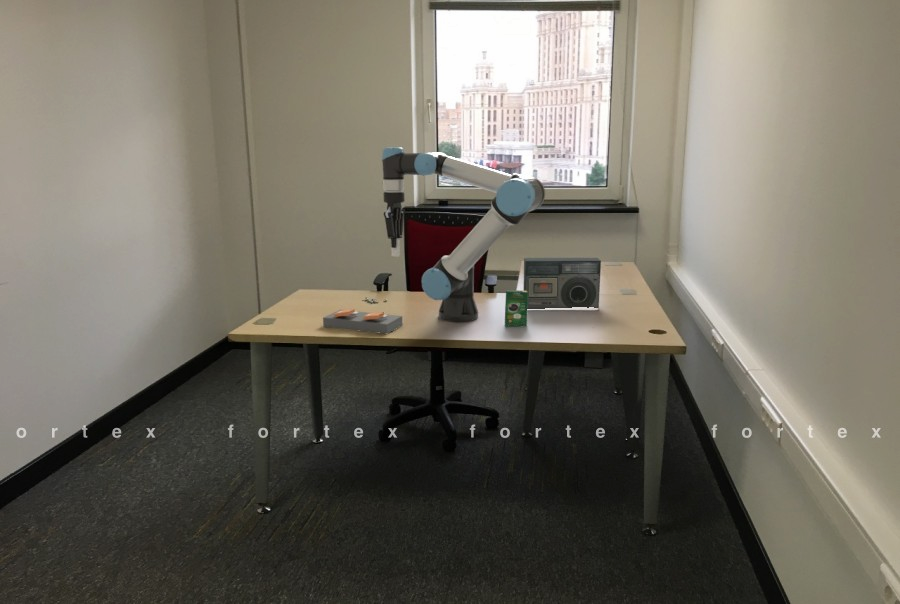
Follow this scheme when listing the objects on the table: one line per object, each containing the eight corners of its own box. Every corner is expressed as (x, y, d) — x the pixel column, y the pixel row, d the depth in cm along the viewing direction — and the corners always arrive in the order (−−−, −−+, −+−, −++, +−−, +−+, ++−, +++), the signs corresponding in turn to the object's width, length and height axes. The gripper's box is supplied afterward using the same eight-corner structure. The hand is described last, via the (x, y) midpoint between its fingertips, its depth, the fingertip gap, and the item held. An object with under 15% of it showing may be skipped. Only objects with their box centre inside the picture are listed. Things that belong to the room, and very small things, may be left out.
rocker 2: (384, 315, 239) (383, 311, 239) (378, 318, 235) (378, 314, 235) (369, 316, 242) (369, 313, 242) (364, 319, 238) (363, 316, 238)
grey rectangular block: (402, 325, 245) (402, 315, 244) (387, 334, 234) (387, 323, 233) (340, 318, 254) (340, 308, 253) (323, 326, 243) (322, 316, 243)
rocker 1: (355, 312, 244) (354, 308, 244) (348, 315, 240) (348, 311, 240) (341, 314, 246) (340, 310, 246) (334, 317, 242) (334, 313, 242)
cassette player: (524, 310, 265) (525, 260, 260) (523, 306, 271) (524, 257, 267) (598, 310, 264) (600, 260, 259) (595, 306, 270) (597, 257, 266)
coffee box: (526, 324, 245) (527, 289, 242) (527, 326, 242) (528, 291, 239) (504, 324, 245) (505, 289, 242) (505, 326, 242) (505, 291, 239)
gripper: (392, 189, 248) (394, 252, 253) (376, 192, 236) (378, 258, 242) (411, 190, 245) (412, 253, 251) (395, 192, 233) (397, 259, 239)
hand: (395, 256), depth 246 cm, fingers closed
